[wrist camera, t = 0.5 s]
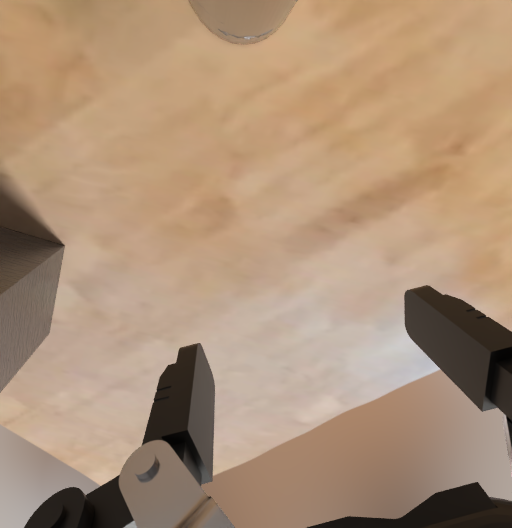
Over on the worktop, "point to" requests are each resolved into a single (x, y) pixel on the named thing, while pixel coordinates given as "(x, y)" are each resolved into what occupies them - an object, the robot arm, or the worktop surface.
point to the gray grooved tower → (25, 296)
